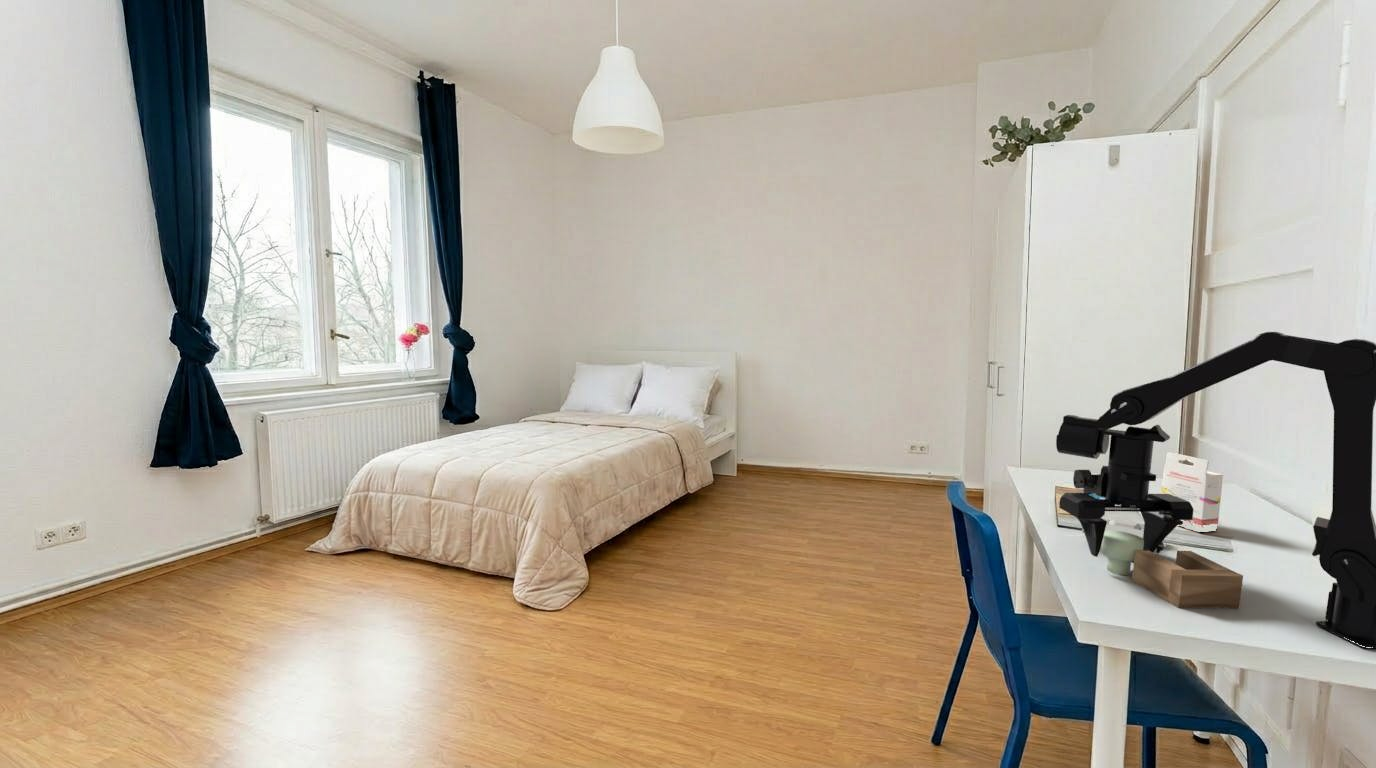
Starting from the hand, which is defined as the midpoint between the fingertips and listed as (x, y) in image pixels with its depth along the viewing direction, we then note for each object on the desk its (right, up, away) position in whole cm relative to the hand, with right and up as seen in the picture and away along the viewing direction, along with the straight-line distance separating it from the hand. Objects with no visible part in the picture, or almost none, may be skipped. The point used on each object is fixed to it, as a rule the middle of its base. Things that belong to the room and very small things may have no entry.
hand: (1120, 556), depth 105 cm
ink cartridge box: (+30, -1, +24) cm, 38 cm away
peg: (0, -3, 0) cm, 3 cm away
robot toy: (+8, -2, +11) cm, 14 cm away
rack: (+4, -4, -8) cm, 10 cm away
